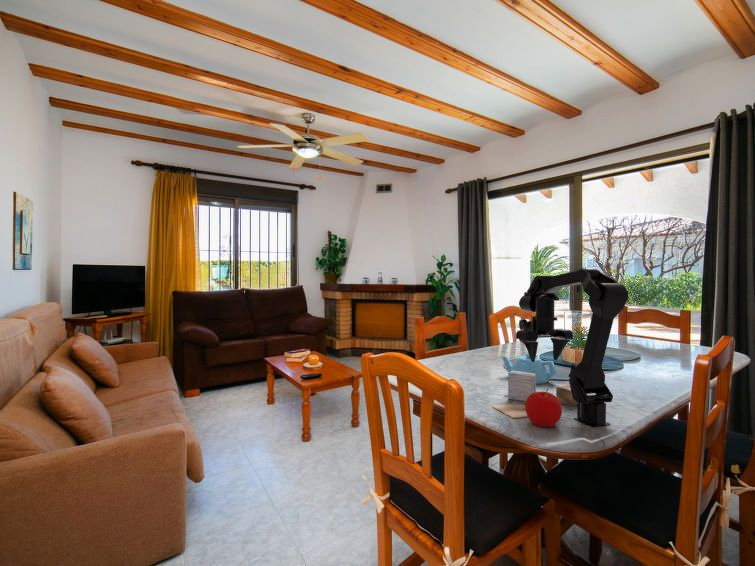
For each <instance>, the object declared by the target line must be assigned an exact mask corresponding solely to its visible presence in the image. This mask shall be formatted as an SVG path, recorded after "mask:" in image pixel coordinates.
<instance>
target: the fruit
mask: <svg viewBox="0 0 755 566" xmlns="http://www.w3.org/2000/svg"><path fill="white" fill-rule="evenodd" d="M548 391H549V388H546V391H536V392H535V393H532V394H531V395H529V397H528V398H527V400H526V403H525V410H526V413H527V416H528V417H527V418H528V419H529V421H530V422H531V423H532V424H534V425H535V426H538V427H540V428H548V427H549V428H551V427H554V426H556V424H557V423H558V422H559V421H560V420H561V418H562V414H563V408H562V403H560V402H559V400H558V399H557V397H556V394H553V393H550V392H548Z"/></svg>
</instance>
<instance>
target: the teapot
mask: <svg viewBox="0 0 755 566" xmlns="http://www.w3.org/2000/svg"><path fill="white" fill-rule="evenodd" d="M501 358H502V361H503V363H504V365H505V367H506V370H507V372H508V373H509V372H510V371H512V370H513V371H520V372H528V373H534V374H536V385H541V384H546V383H548V382H549V380H550V379H551V378H552V377H554V376H555V375H557V374H558V372H557V369H556V366H555V363H554V360H546V361H543V360H542V358H539V357H538V355H536V358H535V362H532V361H531V359H530V356H529V354H528V352H527V353H525V355H521V356H518V357H517V358H516V359H515V361H514V362H513V363H512V362H511V361H510V360H509V358H508V357H507V356H503V357H501ZM546 366H548V368H549V372H548V369H547V367H546Z"/></svg>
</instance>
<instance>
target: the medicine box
mask: <svg viewBox="0 0 755 566" xmlns="http://www.w3.org/2000/svg"><path fill="white" fill-rule="evenodd" d="M507 383H508V384H507V395H508V398H507V399H509V400H511V399H513V400H519V401H525V402H526V400H527V398H528V397H529V395H531V394H532V393H535V392H537V384H536V374H534V373H528V372H520V371H513V370H512V371H510V372H508V374H507ZM513 400H512V401H513Z"/></svg>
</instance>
